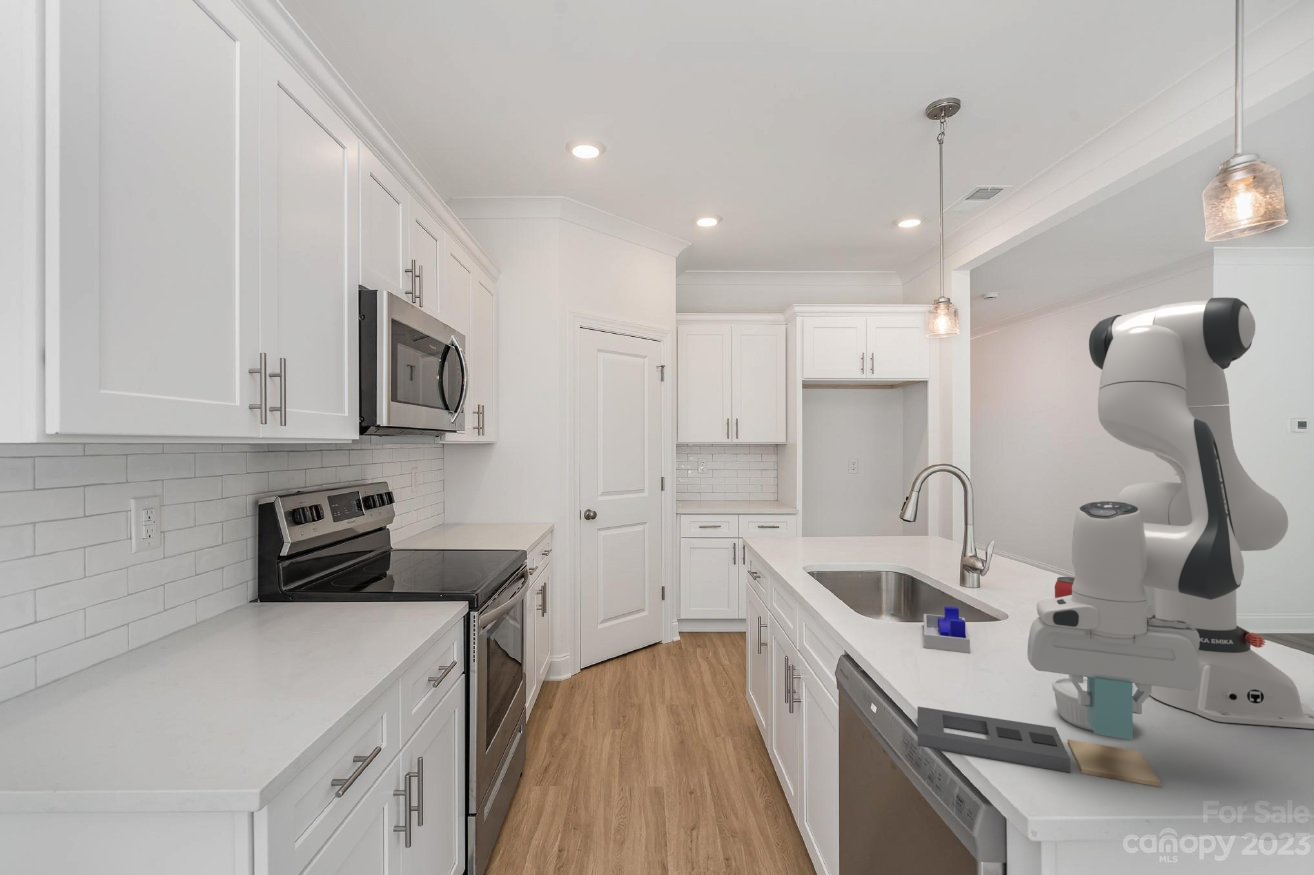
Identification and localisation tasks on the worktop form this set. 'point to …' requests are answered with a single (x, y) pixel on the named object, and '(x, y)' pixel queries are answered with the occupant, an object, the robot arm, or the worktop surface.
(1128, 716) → the upright teal block
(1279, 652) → the worktop surface
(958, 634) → the cable clip
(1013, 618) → the worktop surface
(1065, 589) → the beer can
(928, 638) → the clip tray
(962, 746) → the grey slotted board
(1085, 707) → the ramekin
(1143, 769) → the pad
